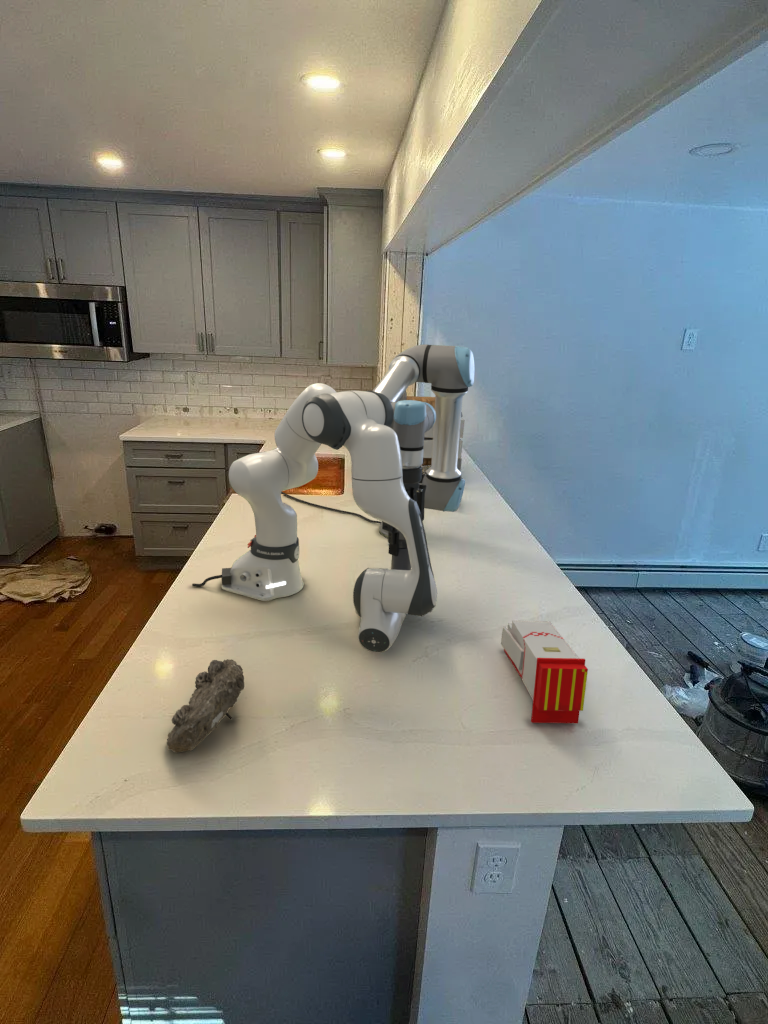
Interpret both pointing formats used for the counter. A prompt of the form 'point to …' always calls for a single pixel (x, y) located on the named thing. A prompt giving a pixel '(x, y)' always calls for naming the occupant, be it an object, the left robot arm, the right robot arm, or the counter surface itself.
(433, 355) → the right robot arm
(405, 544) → the lid
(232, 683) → the fossil
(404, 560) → the dark gray cylinder
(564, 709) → the toy
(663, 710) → the counter surface
